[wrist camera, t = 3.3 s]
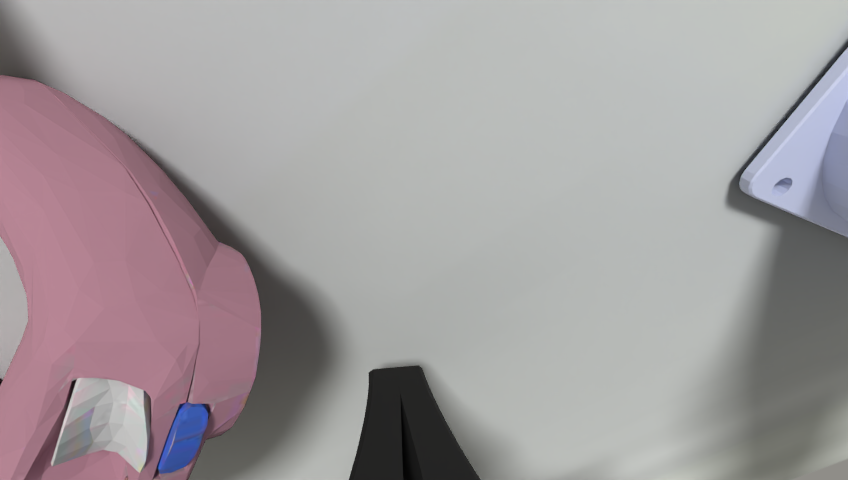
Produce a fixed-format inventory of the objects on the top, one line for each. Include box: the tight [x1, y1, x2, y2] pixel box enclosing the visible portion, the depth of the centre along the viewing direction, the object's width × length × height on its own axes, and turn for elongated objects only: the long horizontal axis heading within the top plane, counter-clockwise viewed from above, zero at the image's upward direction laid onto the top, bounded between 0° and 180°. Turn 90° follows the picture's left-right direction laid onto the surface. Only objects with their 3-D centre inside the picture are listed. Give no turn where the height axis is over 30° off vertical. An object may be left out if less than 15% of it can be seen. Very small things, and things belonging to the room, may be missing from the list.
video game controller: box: [0, 75, 261, 480], centre depth 8 cm, size 10×5×7 cm, turn 142°
